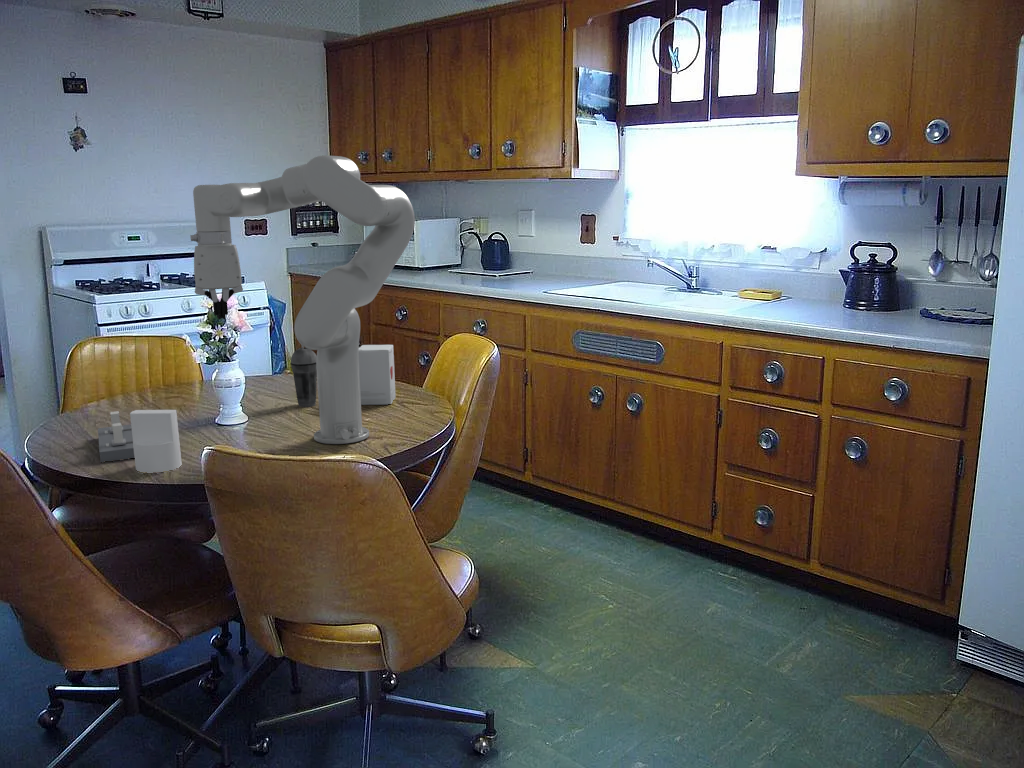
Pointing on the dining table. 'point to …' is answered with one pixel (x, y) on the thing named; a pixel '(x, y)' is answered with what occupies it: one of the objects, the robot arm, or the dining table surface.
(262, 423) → the dining table surface
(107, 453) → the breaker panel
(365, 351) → the supplement box
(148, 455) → the grey upright block
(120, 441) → the block
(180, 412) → the dining table surface
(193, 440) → the dining table surface
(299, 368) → the beverage cup
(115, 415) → the breaker
